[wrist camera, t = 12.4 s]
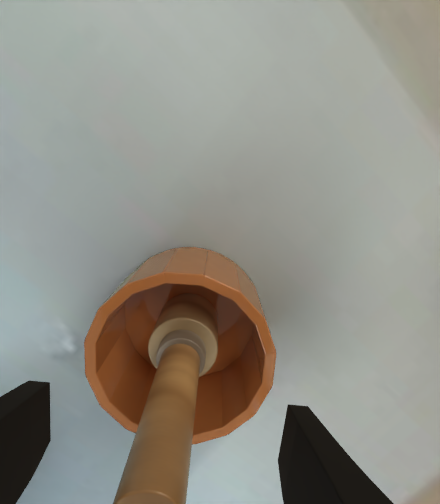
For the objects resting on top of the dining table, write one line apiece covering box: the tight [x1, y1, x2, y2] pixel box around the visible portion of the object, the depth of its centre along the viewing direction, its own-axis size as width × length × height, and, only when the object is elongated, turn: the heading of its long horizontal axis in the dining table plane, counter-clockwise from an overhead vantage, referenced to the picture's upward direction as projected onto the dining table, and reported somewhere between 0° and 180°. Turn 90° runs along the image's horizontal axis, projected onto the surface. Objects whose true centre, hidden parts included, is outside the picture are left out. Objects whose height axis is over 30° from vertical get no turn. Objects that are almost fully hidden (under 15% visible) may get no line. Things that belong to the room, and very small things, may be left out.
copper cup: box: [84, 247, 276, 445], centre depth 15 cm, size 8×8×5 cm
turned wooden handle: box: [113, 293, 218, 504], centre depth 12 cm, size 3×3×10 cm
